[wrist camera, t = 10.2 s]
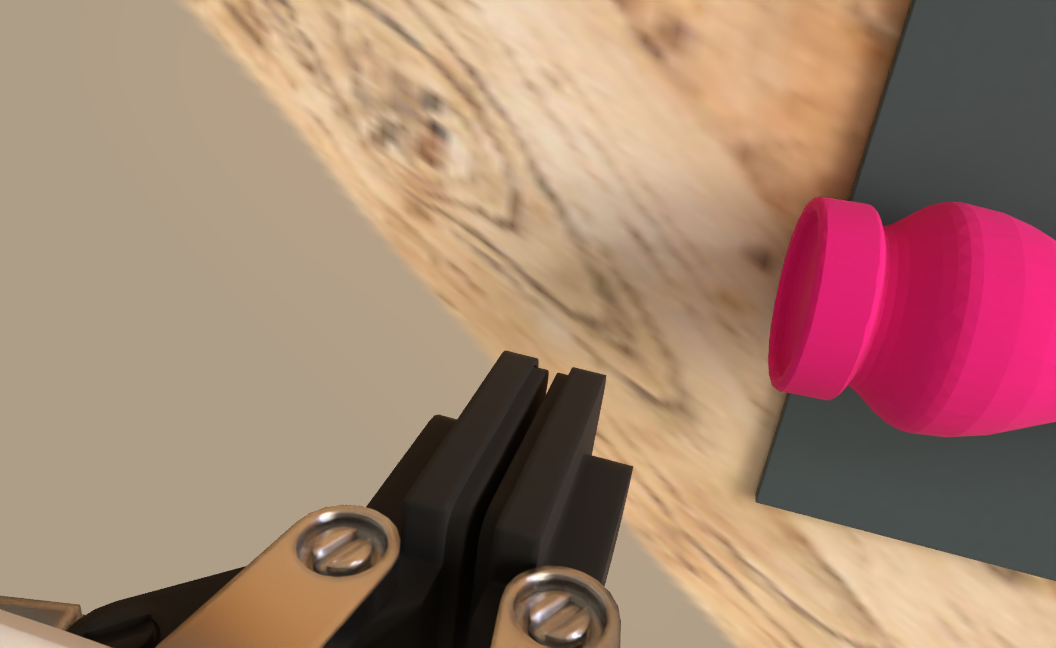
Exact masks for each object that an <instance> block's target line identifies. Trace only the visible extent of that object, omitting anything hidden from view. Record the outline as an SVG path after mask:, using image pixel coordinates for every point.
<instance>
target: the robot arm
mask: <svg viewBox="0 0 1056 648" xmlns="http://www.w3.org/2000/svg"><path fill="white" fill-rule="evenodd" d="M548 375H549V372H548V370H545V369H541V368H538V358H534V357H530V356H525V355H521V354H517V353H513V352H509V351H504V352H503V353H502V354H501V356H500V357H499V359H498V360H497V362H496V363H495V365H494V366H493V368H492V369H491V371H490V372H489V373H488V375H487V376H486V378H485V380H484V381H483V382H482V384H481V385H480V387H479V388H478V390H477V391H476V393H475V394H474V396H473V397H472V399H471V400H470V402H469V403H468V404H467V406H466V407H465V409H464V410H463V412H462V413H461V415H460V416H459V418H458V419H453V418H449V417H446V416H442V415H435V416H434V417H433V418H432V419H431V420H430V421H429V422H428V424H427V425H426V426H425V428H424V429H423V430H422V432H421V433H420V435H419V436H418V437H417V439H416V440H415V441H414V443H413V444H412V445H411V447H410V448H409V450H408V451H407V452H406V454H405V455H404V456H403V458H402V459H401V460H400V462H399V463H398V464H397V466H396V467H395V468H394V470H393V471H392V473H391V474H390V476H389V477H388V478H387V479H386V481H385V482H384V483H383V485H382V486H381V487H380V489H379V490H378V492H377V493H376V494H375V496H374V497H373V498H372V500H371V501H370V502H369V504H368V505H367V507H363V506H356V505H338V506H331V507H325V508H322V509H320V510H317V511H314V512H311V513H309V514H308V515H306V516H305V517H303V518H302V519H300V520H299V521H297V522H296V523H295V524H294V525H292V526H291V527H290V528H289V529H288V530H287V531H286V532H285V533H283V534H282V535H281V536H280V537H279V538H278V539H277V540H276V541H274V542H273V543H272V544H271V545H270V546H269V547H268V548H267V549H266V550H264V551H263V552H262V553H261V554H260V555H259V556H258V557H256V558H255V559H254V560H253V561H252V562H251V563H250V564H249V565H247V566H245V567H241V568H238V569H234V570H230V571H227V572H223V573H219V574H215V575H212V576H209V577H204V578H201V579H197V580H193V581H190V582H186V583H182V584H178V585H175V586H171V587H167V588H164V589H160V590H157V591H152V592H149V593H145V594H142V595H138V596H134V597H130V598H127V599H123V600H119V601H116V602H113V603H110V604H108V605H105V606H103V607H100V608H97V609H95V610H93V611H92V612H90V613H88V614H87V615H82V613H81V607H80V605H78V604H69V603H60V602H51V601H42V600H33V599H24V598H15V597H6V596H0V648H620V631H621V620H620V614H619V609H618V605H617V604H616V602H615V600H614V598H613V597H612V595H611V593H610V592H609V591H608V590H607V589H606V588H605V587H604V586H605V583H606V579H607V575H608V571H609V567H610V563H611V560H612V555H613V552H614V547H615V544H616V540H617V536H618V531H619V527H620V523H621V519H622V515H623V510H624V506H625V502H626V497H627V493H628V488H629V484H630V479H631V475H632V470H633V466H629V465H626V464H622V463H618V462H614V461H611V460H607V459H603V458H599V457H596V456H592V451H593V446H594V440H595V435H596V430H597V425H598V420H599V414H600V409H601V404H602V399H603V394H604V389H605V383H606V375H603V374H599V373H595V372H591V371H587V370H583V369H579V368H574V367H572V369H571V371H570V373H569V375H566V374H562V373H557V375H556V376H555V378H554V380H553V382H552V384H551V386H550V388H549V390H548V392H547V394H546V390H547V383H548Z"/></svg>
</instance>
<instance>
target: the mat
mask: <svg viewBox="0 0 1056 648" xmlns="http://www.w3.org/2000/svg"><path fill="white" fill-rule="evenodd" d="M849 201H852V202H858V203H865V204H869V205H872V206H873V207H874V208H875V209H876V211H877V212H878V214H879V216H880V219H881V221H882V226H887V225H890V224H893V223H896V222H897V221H899V220H901V219H903V218H905V217H907V216H909V215H911V214H912V213H914V212H916V211H918V210H921V209H923V208H925V207H927V206H930V205H933V204H938V203H943V202H963V203H967V204H971V205H975V206H979V207H982V208H986V209H990V210H994V211H998V212H1002V213H1005V214H1007V215H1010V216H1012V217H1014V218H1016V219H1018V220H1021V221H1023V222H1025V223H1027V224H1029V225H1032V226H1034V227H1035V228H1037V229H1038V230H1040V231H1042V232H1043V233H1045V234H1047V235H1048V236H1050V237H1051V238H1053V239H1054V240H1056V0H912V2H911V5H910V8H909V11H908V14H907V18H906V21H905V24H904V27H903V30H902V33H901V37H900V40H899V43H898V46H897V49H896V52H895V56H894V59H893V62H892V65H891V68H890V71H889V75H888V78H887V81H886V84H885V87H884V90H883V94H882V97H881V100H880V103H879V106H878V109H877V113H876V116H875V119H874V122H873V125H872V128H871V132H870V135H869V138H868V141H867V144H866V147H865V151H864V154H863V157H862V160H861V163H860V166H859V170H858V173H857V176H856V179H855V182H854V185H853V189H852V192H851V195H850V198H849ZM756 502H757V503H761V504H765V505H769V506H772V507H776V508H780V509H784V510H788V511H792V512H795V513H799V514H803V515H807V516H811V517H814V518H818V519H822V520H826V521H830V522H833V523H837V524H841V525H845V526H849V527H852V528H856V529H860V530H864V531H868V532H871V533H875V534H879V535H883V536H887V537H890V538H894V539H898V540H902V541H906V542H910V543H913V544H917V545H921V546H925V547H929V548H932V549H936V550H940V551H944V552H948V553H951V554H955V555H959V556H963V557H967V558H970V559H974V560H978V561H982V562H986V563H989V564H993V565H997V566H1001V567H1005V568H1008V569H1012V570H1016V571H1020V572H1024V573H1027V574H1031V575H1035V576H1039V577H1043V578H1047V579H1050V580H1054V581H1056V422H1052V423H1046V424H1041V425H1036V426H1031V427H1026V428H1021V429H1016V430H1011V431H1006V432H1001V433H996V434H990V435H979V436H960V437H940V436H931V435H923V434H915V433H908V432H904V431H901V430H899V429H897V428H895V427H893V426H891V425H889V424H888V423H886V422H885V421H884V420H883V419H881V418H880V417H879V416H878V415H877V414H875V413H874V412H873V411H872V409H871V408H870V407H869V406H868V405H867V404H866V403H865V401H864V400H863V399H862V398H861V397H860V396H859V395H858V393H857V392H856V391H854V390H853V389H852V388H850V387H849V386H847V387H846V388H845V389H844V390H843V391H842V392H841V394H839V395H838V396H836V397H835V398H833V399H831V400H822V399H817V398H812V397H807V396H802V395H797V394H791V393H788V394H787V398H786V401H785V404H784V407H783V410H782V413H781V417H780V420H779V423H778V426H777V429H776V432H775V436H774V439H773V442H772V445H771V448H770V451H769V455H768V458H767V461H766V464H765V467H764V470H763V474H762V477H761V480H760V483H759V486H758V489H757V492H756Z"/></svg>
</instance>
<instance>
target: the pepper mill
mask: <svg viewBox="0 0 1056 648" xmlns="http://www.w3.org/2000/svg"><path fill="white" fill-rule="evenodd" d="M768 366H769V376H770V380H771V383H772V385H773V386H774V387H775V388H776V389H777V390H779V391H781V392H786V393H791V394H797V395H802V396H807V397H812V398H817V399H822V400H831V399H833V398H835V397H836V396H838V395H839V394H841V392H842V391H843V390H844V389H845V388H846V387H847V386H849V387H850V388H852V389H853V390H854V391H856V392H857V393H858V395H859V396H860V397H861V398H862V399H863V400H864V401H865V403H866V404H867V405H868V406H869V407H870V408H871V409H872V411H873V412H874V413H875V414H877V415H878V416H879V417H880V418H881V419H883V420H884V421H885V422H886V423H888V424H889V425H891V426H893V427H895V428H897V429H899V430H901V431H904V432H908V433H915V434H923V435H931V436H940V437H960V436H979V435H990V434H996V433H1001V432H1006V431H1011V430H1016V429H1021V428H1026V427H1031V426H1036V425H1041V424H1046V423H1052V422H1056V240H1054V239H1053V238H1051V237H1050V236H1048V235H1047V234H1045V233H1043V232H1042V231H1040V230H1038V229H1037V228H1035V227H1034V226H1032V225H1029V224H1027V223H1025V222H1023V221H1021V220H1018V219H1016V218H1014V217H1012V216H1010V215H1007V214H1005V213H1002V212H998V211H994V210H990V209H986V208H982V207H979V206H975V205H971V204H967V203H963V202H943V203H938V204H933V205H930V206H927V207H925V208H923V209H921V210H918V211H916V212H914V213H912V214H911V215H909V216H907V217H905V218H903V219H901V220H899V221H897V222H896V223H893V224H890V225H887V226H882V221H881V219H880V216H879V214H878V212H877V211H876V209H875V208H874V207H873V206H872V205H869V204H865V203H858V202H852V201H846V200H839V199H833V198H827V197H817V198H814V199H813V200H811V201H810V202H809V203H808V204H807V205H806V207H805V209H804V210H803V212H802V214H801V216H800V218H799V220H798V222H797V225H796V227H795V230H794V232H793V235H792V238H791V241H790V244H789V247H788V251H787V254H786V257H785V261H784V265H783V269H782V273H781V277H780V282H779V286H778V291H777V295H776V300H775V305H774V311H773V317H772V323H771V330H770V339H769V354H768Z"/></svg>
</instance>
